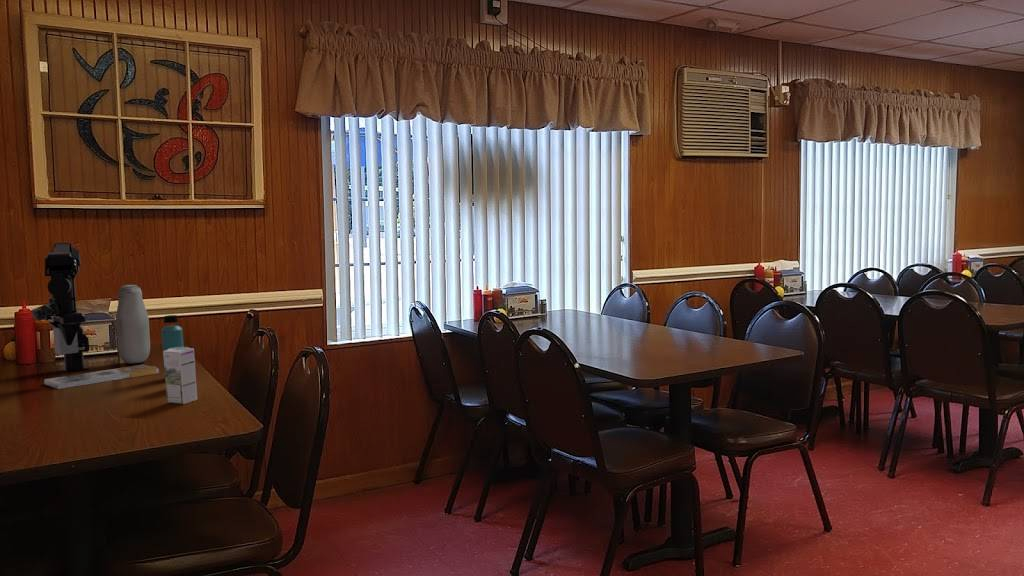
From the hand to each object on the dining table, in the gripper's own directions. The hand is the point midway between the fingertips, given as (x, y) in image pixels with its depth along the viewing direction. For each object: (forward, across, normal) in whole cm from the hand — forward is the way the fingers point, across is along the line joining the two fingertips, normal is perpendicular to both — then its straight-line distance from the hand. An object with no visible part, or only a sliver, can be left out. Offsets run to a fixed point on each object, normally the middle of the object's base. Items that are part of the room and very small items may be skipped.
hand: (66, 344), depth 238 cm
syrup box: (+12, +55, +10) cm, 57 cm away
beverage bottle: (+12, +20, +24) cm, 34 cm away
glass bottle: (+12, -20, +28) cm, 37 cm away
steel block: (+3, 0, 0) cm, 3 cm away
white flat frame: (+12, 0, +10) cm, 16 cm away
